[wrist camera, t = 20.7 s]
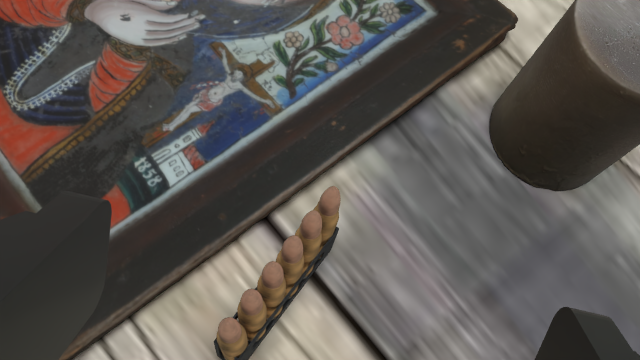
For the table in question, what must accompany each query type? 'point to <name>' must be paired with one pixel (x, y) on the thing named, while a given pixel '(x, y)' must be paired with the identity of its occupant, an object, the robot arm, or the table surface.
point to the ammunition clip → (280, 281)
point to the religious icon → (206, 112)
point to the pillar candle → (574, 98)
